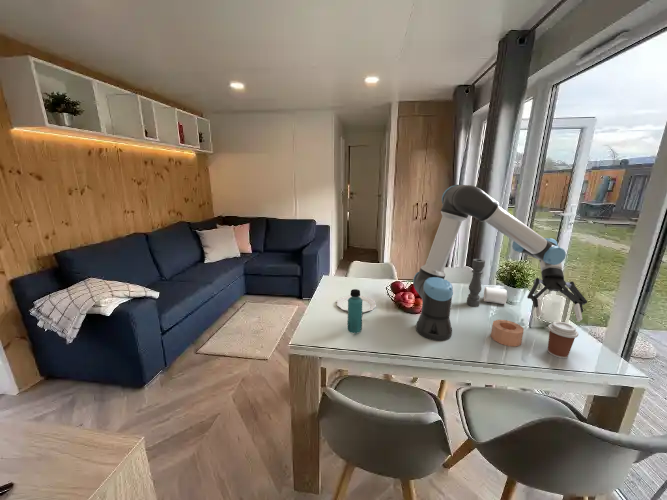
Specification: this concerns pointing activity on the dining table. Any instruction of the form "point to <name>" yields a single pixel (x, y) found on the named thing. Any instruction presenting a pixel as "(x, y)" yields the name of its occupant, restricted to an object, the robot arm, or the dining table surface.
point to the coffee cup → (561, 339)
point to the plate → (370, 301)
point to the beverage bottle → (355, 312)
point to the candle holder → (475, 283)
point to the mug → (495, 295)
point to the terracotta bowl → (507, 332)
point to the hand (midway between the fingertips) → (559, 317)
